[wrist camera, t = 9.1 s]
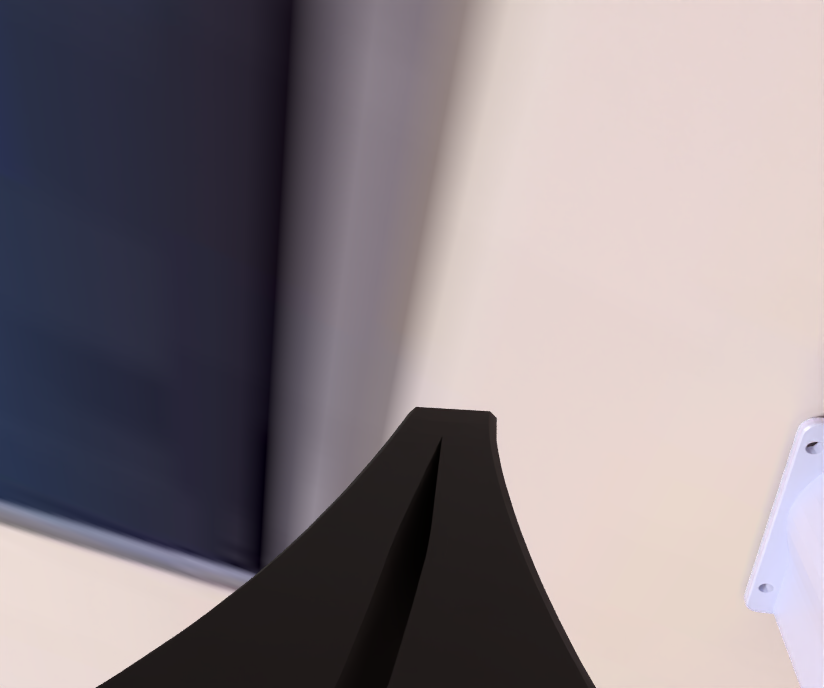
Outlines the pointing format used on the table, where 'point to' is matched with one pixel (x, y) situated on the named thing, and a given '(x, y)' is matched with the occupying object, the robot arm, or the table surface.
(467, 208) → the table surface
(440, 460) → the robot arm
